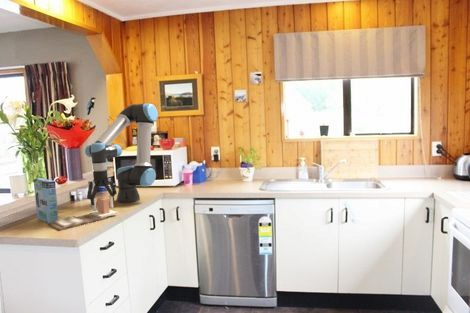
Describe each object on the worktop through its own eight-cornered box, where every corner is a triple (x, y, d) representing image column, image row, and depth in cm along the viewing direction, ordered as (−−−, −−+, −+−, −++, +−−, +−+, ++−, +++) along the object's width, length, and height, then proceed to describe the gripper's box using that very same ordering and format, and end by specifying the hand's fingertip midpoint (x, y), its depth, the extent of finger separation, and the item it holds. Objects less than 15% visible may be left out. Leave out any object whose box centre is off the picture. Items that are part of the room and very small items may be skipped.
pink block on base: (106, 210, 218) (104, 195, 217) (117, 213, 208) (116, 198, 207) (89, 214, 210) (88, 198, 209) (101, 217, 201) (99, 201, 200)
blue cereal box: (37, 218, 211) (32, 179, 208) (46, 216, 214) (42, 177, 212) (50, 224, 197) (45, 182, 195) (59, 221, 201) (55, 180, 199)
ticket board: (93, 214, 213) (93, 211, 213) (106, 219, 202) (106, 215, 202) (48, 225, 195) (47, 221, 195) (60, 230, 184) (59, 226, 184)
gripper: (114, 167, 217) (117, 204, 219) (77, 172, 201) (81, 212, 204) (121, 167, 212) (124, 205, 214) (83, 173, 196) (87, 214, 198)
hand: (103, 208), depth 209 cm, fingers open, 9 cm apart
